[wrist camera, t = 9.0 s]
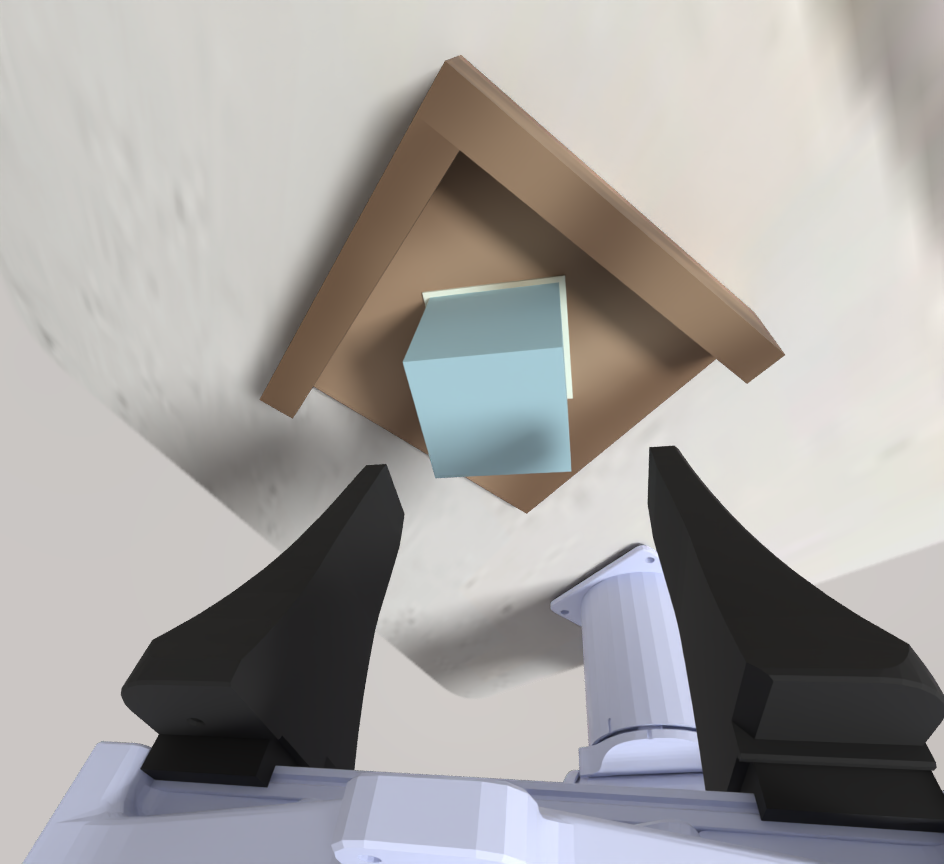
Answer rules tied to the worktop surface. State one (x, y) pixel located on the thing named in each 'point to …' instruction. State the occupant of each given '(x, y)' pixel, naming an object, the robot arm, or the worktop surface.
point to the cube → (492, 382)
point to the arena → (513, 279)
